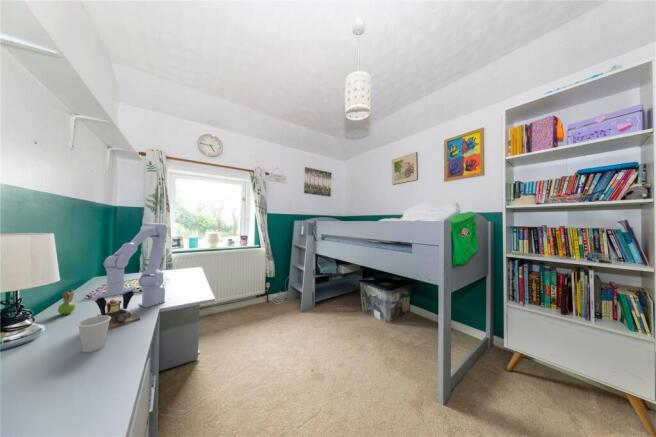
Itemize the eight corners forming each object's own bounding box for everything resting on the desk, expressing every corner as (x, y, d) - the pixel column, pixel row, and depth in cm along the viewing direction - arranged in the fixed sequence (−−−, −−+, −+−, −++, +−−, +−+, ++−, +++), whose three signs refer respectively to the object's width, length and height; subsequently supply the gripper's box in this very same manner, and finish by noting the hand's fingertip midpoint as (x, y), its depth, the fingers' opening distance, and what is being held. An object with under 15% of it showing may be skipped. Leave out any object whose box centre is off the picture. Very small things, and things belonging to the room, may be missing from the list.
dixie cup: (89, 356, 76) (90, 326, 76) (69, 352, 78) (70, 324, 78) (116, 342, 84) (117, 316, 85) (97, 340, 86) (98, 314, 86)
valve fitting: (117, 314, 106) (118, 297, 106) (122, 316, 103) (123, 300, 103) (102, 318, 101) (103, 301, 101) (108, 321, 99) (108, 303, 99)
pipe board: (123, 312, 111) (123, 306, 111) (139, 319, 103) (140, 313, 103) (89, 321, 100) (89, 314, 100) (105, 330, 93) (105, 323, 93)
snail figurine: (64, 317, 103) (65, 291, 103) (54, 315, 105) (55, 289, 105) (79, 312, 109) (80, 287, 109) (69, 310, 110) (70, 286, 110)
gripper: (130, 277, 110) (129, 304, 110) (89, 284, 97) (88, 315, 97) (138, 279, 107) (137, 307, 107) (96, 287, 94) (95, 319, 94)
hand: (114, 311), depth 102 cm, fingers open, 7 cm apart
